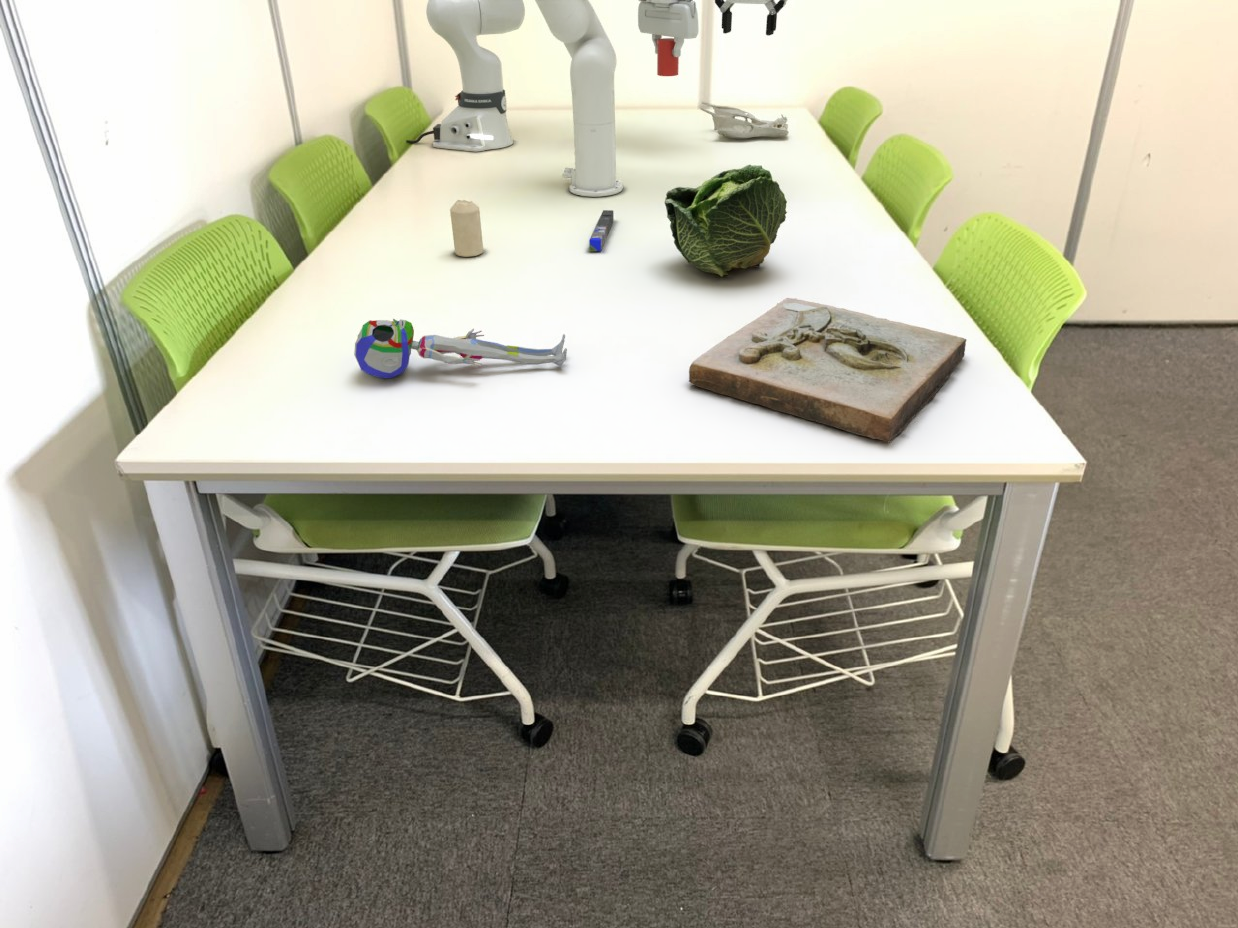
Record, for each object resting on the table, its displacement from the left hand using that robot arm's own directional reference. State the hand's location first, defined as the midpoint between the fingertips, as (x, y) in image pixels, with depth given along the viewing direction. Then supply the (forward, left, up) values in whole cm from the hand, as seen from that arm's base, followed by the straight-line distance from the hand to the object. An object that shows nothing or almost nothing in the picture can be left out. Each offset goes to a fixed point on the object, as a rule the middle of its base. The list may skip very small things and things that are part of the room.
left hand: (667, 55), depth 229 cm
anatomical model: (+18, +22, -24) cm, 37 cm away
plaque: (+50, -124, -24) cm, 136 cm away
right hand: (+24, -33, +9) cm, 42 cm away
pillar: (+1, -72, -24) cm, 76 cm away
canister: (0, 0, -5) cm, 5 cm away
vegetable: (+29, -86, -24) cm, 93 cm away
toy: (-2, -135, -24) cm, 137 cm away
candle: (-21, -87, -24) cm, 93 cm away
